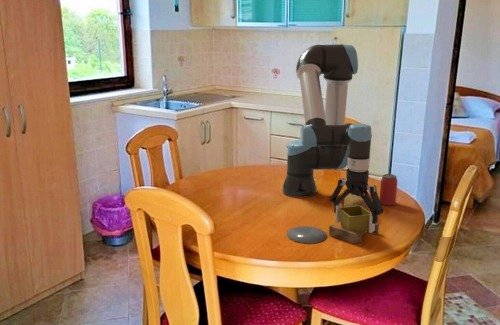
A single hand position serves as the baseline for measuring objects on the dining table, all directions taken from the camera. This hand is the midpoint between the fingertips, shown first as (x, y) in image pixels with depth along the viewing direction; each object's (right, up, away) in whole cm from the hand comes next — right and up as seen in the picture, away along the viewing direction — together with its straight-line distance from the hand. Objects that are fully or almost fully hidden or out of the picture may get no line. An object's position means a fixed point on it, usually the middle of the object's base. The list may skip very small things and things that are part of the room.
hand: (354, 226), depth 176 cm
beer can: (+20, +5, +31) cm, 38 cm away
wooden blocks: (0, -3, +1) cm, 3 cm away
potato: (+5, +2, +20) cm, 21 cm away
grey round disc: (-17, -3, 0) cm, 17 cm away
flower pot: (0, -3, +1) cm, 3 cm away
